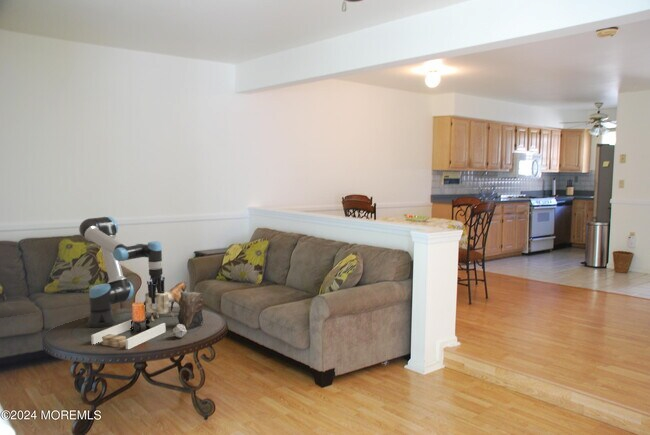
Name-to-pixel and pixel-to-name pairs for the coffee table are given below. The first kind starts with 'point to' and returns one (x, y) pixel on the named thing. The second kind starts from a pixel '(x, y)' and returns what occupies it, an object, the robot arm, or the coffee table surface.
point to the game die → (179, 330)
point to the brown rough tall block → (190, 309)
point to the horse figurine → (172, 296)
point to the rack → (132, 340)
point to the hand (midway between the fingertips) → (157, 307)
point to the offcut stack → (114, 340)
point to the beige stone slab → (158, 303)
